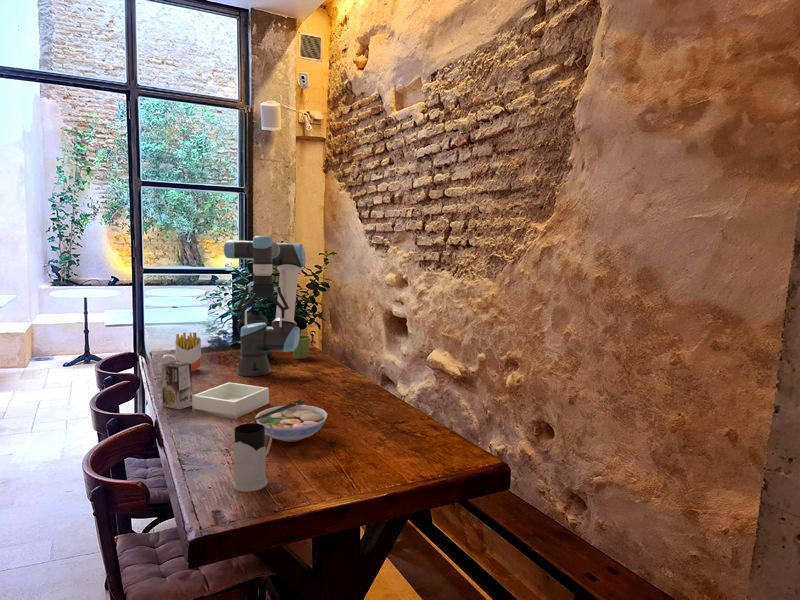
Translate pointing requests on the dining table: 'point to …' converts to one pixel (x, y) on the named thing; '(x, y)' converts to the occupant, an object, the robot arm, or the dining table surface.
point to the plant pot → (302, 347)
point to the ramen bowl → (292, 421)
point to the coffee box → (176, 385)
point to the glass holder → (250, 456)
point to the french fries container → (189, 350)
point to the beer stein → (251, 319)
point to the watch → (163, 360)
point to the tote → (230, 400)
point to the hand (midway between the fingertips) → (263, 327)
